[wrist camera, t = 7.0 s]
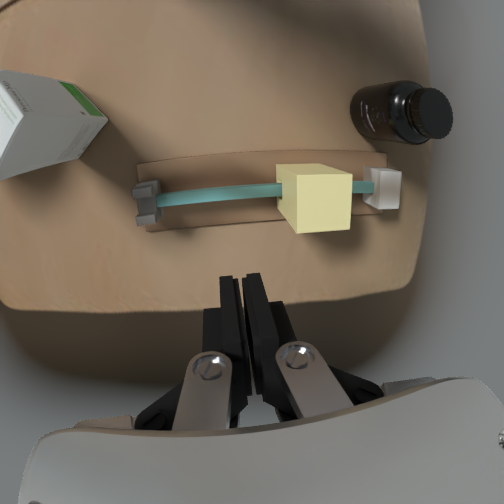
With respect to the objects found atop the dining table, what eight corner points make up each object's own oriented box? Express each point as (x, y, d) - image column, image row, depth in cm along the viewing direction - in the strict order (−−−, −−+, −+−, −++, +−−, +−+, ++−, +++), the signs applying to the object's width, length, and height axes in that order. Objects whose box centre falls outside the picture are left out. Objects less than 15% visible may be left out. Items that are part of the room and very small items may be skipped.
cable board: (137, 164, 28) (123, 169, 24) (385, 152, 30) (406, 157, 26) (147, 230, 31) (136, 245, 27) (382, 212, 34) (401, 223, 29)
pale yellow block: (275, 164, 29) (296, 175, 21) (319, 163, 29) (352, 174, 22) (277, 208, 31) (297, 233, 23) (318, 205, 31) (349, 229, 24)
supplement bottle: (338, 116, 28) (397, 112, 17) (364, 76, 26) (426, 60, 15) (377, 150, 30) (442, 164, 19) (401, 112, 28) (467, 113, 17)
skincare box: (110, 120, 25) (28, 116, 11) (76, 162, 27) (-10, 191, 12) (72, 81, 22) (-13, 62, 8) (41, 123, 23) (-47, 131, 9)
